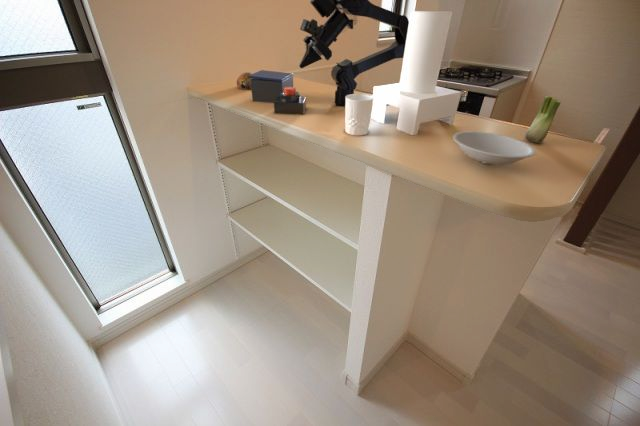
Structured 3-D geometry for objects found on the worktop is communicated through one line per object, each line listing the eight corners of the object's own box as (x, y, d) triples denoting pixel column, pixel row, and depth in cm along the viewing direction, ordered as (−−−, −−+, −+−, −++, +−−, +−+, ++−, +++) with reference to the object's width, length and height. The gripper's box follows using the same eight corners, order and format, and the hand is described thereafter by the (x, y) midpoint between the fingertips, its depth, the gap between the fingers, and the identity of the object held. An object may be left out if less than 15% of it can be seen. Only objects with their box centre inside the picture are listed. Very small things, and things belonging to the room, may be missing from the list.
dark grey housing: (252, 101, 116) (250, 79, 112) (265, 93, 126) (263, 73, 122) (283, 103, 114) (281, 82, 109) (293, 96, 124) (292, 75, 119)
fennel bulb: (543, 146, 82) (564, 101, 75) (523, 142, 84) (541, 98, 77) (542, 139, 86) (562, 96, 79) (523, 136, 88) (540, 93, 81)
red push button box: (306, 108, 109) (305, 91, 106) (303, 114, 103) (302, 96, 99) (279, 107, 110) (277, 90, 106) (274, 113, 103) (273, 95, 100)
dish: (531, 162, 73) (540, 143, 70) (520, 184, 64) (529, 163, 61) (458, 144, 82) (463, 126, 79) (439, 161, 73) (444, 142, 70)
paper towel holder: (412, 135, 87) (436, 12, 70) (370, 118, 100) (381, 10, 83) (452, 124, 96) (483, 12, 79) (409, 110, 109) (426, 11, 92)
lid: (248, 78, 112) (247, 75, 111) (261, 72, 122) (261, 70, 121) (281, 81, 109) (281, 79, 109) (292, 75, 119) (292, 73, 119)
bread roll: (262, 95, 138) (265, 77, 136) (246, 89, 129) (250, 69, 127) (246, 92, 142) (249, 75, 140) (230, 86, 133) (233, 67, 131)
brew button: (296, 93, 105) (296, 86, 103) (294, 95, 101) (294, 89, 100) (285, 92, 105) (285, 86, 104) (283, 95, 102) (282, 89, 100)
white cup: (369, 128, 92) (373, 94, 87) (370, 137, 86) (374, 101, 80) (343, 126, 93) (345, 93, 87) (342, 135, 86) (345, 100, 81)
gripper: (308, 8, 102) (278, 45, 106) (322, 9, 87) (287, 52, 91) (330, 34, 108) (301, 69, 112) (346, 39, 93) (312, 79, 97)
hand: (300, 67), depth 103 cm, fingers closed
